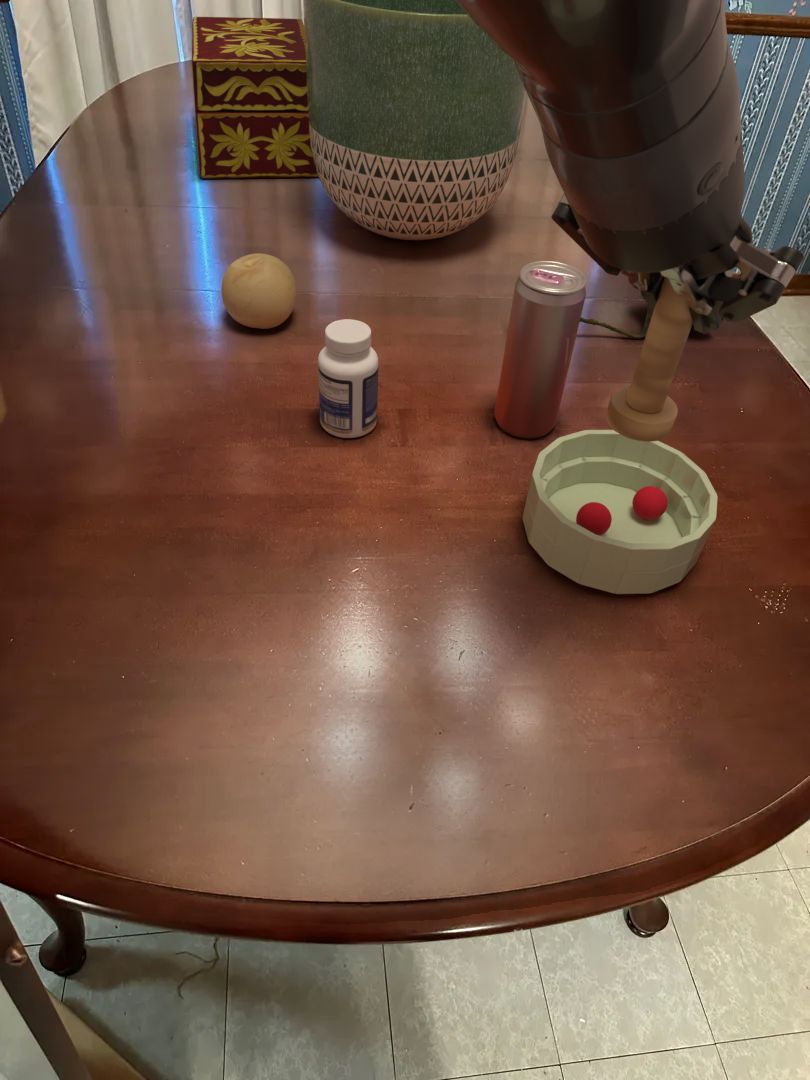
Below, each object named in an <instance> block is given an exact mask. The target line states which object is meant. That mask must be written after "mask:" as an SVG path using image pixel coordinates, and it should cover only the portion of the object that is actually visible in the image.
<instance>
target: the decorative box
mask: <svg viewBox="0 0 810 1080" xmlns="http://www.w3.org/2000/svg"><path fill="white" fill-rule="evenodd" d="M191 29H192V30H191V31H192V32H191V35H192V36H191V72H192V89H193V90H192V91H193V103H194V104H193V105H194V117H195V118H194V119H195V133H196V147H197V149H196V150H197V162H198V163H197V164H198V175H199V177H200V179H203V180H204V179H205V180H207V179H212V180H213V179H214V180H215V179H218V180H219V179H220V180H221V179H279V178H280V179H287V178H289V179H290V178H293V179H294V178H295V179H296V178H300V179H301V178H319V176H318V173H317V170H316V166H315V163H314V158H313V154H312V150H311V143H310V134H309V115H308V97H307V75H306V49H305V31H304V21H303V20H302V18H288V17H287V18H286V17H285V18H284V17H283V18H279V17H275V18H274V17H240V16H239V17H238V16H237V17H235V16H233V17H232V16H193V18H192V27H191Z"/></svg>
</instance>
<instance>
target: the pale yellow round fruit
mask: <svg viewBox="0 0 810 1080" xmlns="http://www.w3.org/2000/svg"><path fill="white" fill-rule="evenodd" d="M220 290H221V299H222V302H223V305H224V307H225V310H226V312H228V314H229V315H230V317H231V318H232V319H233V320H235V321H236V322H237V323H238V324H240V325H242V326H245V327H248V328H253V329H261V330H269V329H273V328H276V327H278V326H280V325H282V324H283V323H284V322H285V321H286V320H287V319H288V318H289V317H290V315H291V313H292V312H293V310H294V307H295V304H296V299H297V298H296V297H297V286H296V281H295V278H294V275H293V272H292V271H291V269H290V268H289V267H288V265H287V264H286V263H285V262H284V261H282V260H281V259H280V258H278V257H276V256H274V255H271V254H268V253H259V252H258V253H257V252H256V253H250V254H247V255H243V256H241V257H238V258H237V259H236V260H234V261H233V262H232V263H230V265H228V267H227V269H226V270H225V272H224V275H223V277H222V281H221V289H220Z"/></svg>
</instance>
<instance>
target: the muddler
mask: <svg viewBox="0 0 810 1080" xmlns="http://www.w3.org/2000/svg"><path fill="white" fill-rule="evenodd" d="M689 307H690V306H689V303H688V301H687V300H685V299H682V298H679V297H677V296H676V294H675V292H674V290H673V288H672V286H671V284H670V282H669V280H668V278H666V277H664V280H663V283H662V286H661V289H660V292H659V296H658V299H657V302H656V305H655V308H654V312H653V315H652V318H651V321H650V325H649V328H648V331H647V334H646V336H644V337H645V338H644V340H643V345H642V347H641V351H640V354H639V357H638V360H637V363H636V366H635V370H634V373H633V376H632V380H631V383H630V385H625V386H622V387H619V388H617V389H616V390H614V391H613V393H611V395H610V398H609V402H608V405H607V408H606V412H605V420H606V423H607V424H608V426H609V427H610V428H611V430H614V431H616V432H617V433H619V434H620V435H622V436H624V437H627V438H630V439H633V440H637V441H644V442H652V441H662V440H664V439H665V438H667V437H668V436H669V435H670V434H671V432H672V430H673V427H674V424H675V422H676V420H677V416H678V414H679V409H678V405H677V404H676V402H675V401H674V400H673V399H672V398H671V397H670V396H669V392H670V390H671V389H670V388H671V386H672V383H673V380H674V378H675V375H676V372H677V369H678V366H679V363H680V360H681V358H682V355H683V351H684V349H685V346H686V344H687V340H688V338H689V335H690V332H691V329H692V326H693V320H692V318H691V314H690V310H689Z"/></svg>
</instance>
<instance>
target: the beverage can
mask: <svg viewBox="0 0 810 1080" xmlns="http://www.w3.org/2000/svg"><path fill="white" fill-rule="evenodd" d="M586 285H587V277H586V275H585V274H584V273H583V272H582V271H581V270H580V269H578V268H577V267H575V266H573V265H570V264H568V263H565V262H559V261H553V260H539V261H533V262H530V263H527V264H524V265H523V266H522V267H521V268H520V271H519V274H518V277H517V279H516V281H515V284H514V290H513V296H512V303H511V308H510V314H509V320H508V322H509V323H508V327H507V333H506V339H505V346H504V350H503V358H502V364H501V370H500V376H499V381H498V388H497V395H496V400H495V407H494V413H493V414H494V418H495V420H496V423H497V424H498V426H499V428H500V429H502V430H503V432H505V433H507V434H509V435H510V436H513V437H516V438H520V439H530V440H531V439H537V438H541V437H543V436H545V435H547V434H549V433H550V432H551V431H552V430H553V429H554V428H555V426H556V424H557V421H558V416H559V412H560V407H561V403H562V399H563V395H564V391H565V386H566V382H567V378H568V373H569V369H570V364H571V360H572V356H573V352H574V347H575V343H576V338H577V335H578V331H579V326H580V323H581V322H580V318H582V315H583V314H582V313H583V310H584V305H585V300H586V295H587V289H586V287H587V286H586Z"/></svg>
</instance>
